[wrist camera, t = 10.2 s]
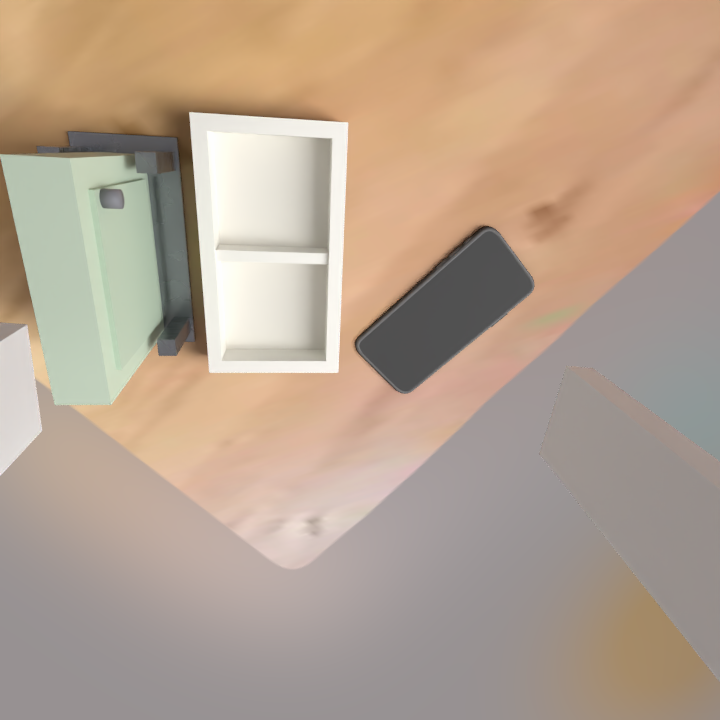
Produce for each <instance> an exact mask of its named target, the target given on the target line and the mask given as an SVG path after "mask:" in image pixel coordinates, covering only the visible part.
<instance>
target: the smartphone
mask: <svg viewBox="0 0 720 720" xmlns="http://www.w3.org/2000/svg"><path fill="white" fill-rule="evenodd" d="M533 289H534V280H533V278H532V276H531V275H530V273H529V272H528V271H527V269H526V268H525V267H524V265H523V264H522V263H521V261H520V260H519V259H518V257H517V256H516V255H515V253H514V252H513V251H512V249H511V248H510V247H509V245H508V244H507V243H506V241H505V240H504V238H503V237H502V236H501V234H500V233H499V232H498V231H497V230H496V229H494V228H492V227H483V228H481V229H479V230H478V231H477V232H476V233H475V234H474V235H473V236H471V237H470V238H468V239H467V240H466V241H465V242H464V243H463V244H462V245H461V246H460V247H458V248H457V249H455V250H454V251H453V252H452V253H451V254H450V255H449V257H448V258H446V259H444V260H443V261H442V262H441V263H440V264H439V265H437V266H436V267H435V269H434V270H433V271H432V272H431V273H430V274H428V275H427V276H426V277H425V278H424V279H423V280H422V281H421V282H419V283H418V284H417V285H416V286H415V287H414V288H413V289H412V290H410V291H409V292H408V293H407V294H406V295H405V296H404V297H403V298H401V299H400V300H399V301H398V302H397V303H396V304H395V305H394V306H393V307H391V308H390V309H389V310H388V311H387V312H386V313H385V314H384V315H382V316H381V317H380V318H379V319H378V320H377V321H376V322H375V323H373V324H372V325H371V326H370V327H369V328H368V329H367V330H366V331H364V332H363V333H362V334H361V335H360V336H359V337H358V338H357V340H356V343H355V346H356V349H357V351H358V352H359V354H360V355H361V356H362V357H363V358H364V359H365V360H366V361H367V362H368V363H369V364H370V365H371V366H372V367H373V368H374V369H375V370H376V371H377V372H378V373H379V374H380V375H381V376H382V377H383V378H384V379H385V380H386V381H387V382H388V383H389V384H390V385H391V386H392V387H393V388H394V389H395V390H397V391H398V392H400V393H404V394H405V393H410V392H411V391H413V390H414V389H415V388H417V387H418V386H419V385H420V384H422V383H423V382H424V381H425V380H426V379H428V378H429V377H430V376H431V375H432V374H434V373H435V372H436V371H437V370H439V369H440V368H441V367H442V366H443V365H445V364H446V363H447V362H448V361H450V360H451V359H452V358H453V357H454V356H456V355H457V354H458V353H459V352H460V351H462V350H463V349H464V348H465V347H467V346H468V345H469V344H470V343H471V342H473V341H474V340H475V339H476V338H478V337H479V336H480V335H481V334H482V333H484V332H485V331H486V330H487V329H488V328H490V327H492V326H493V325H494V324H496V323H497V322H498V321H499V320H501V319H502V318H503V317H504V316H505V315H507V313H508V312H509V311H510V310H512V309H513V308H514V307H515V306H516V305H518V304H519V303H520V302H521V301H522V300H524V299H525V298H526V297H527V296H529V295H530V294H531V293H532V291H533Z"/></svg>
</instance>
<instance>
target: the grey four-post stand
mask: <svg viewBox="0 0 720 720" xmlns="http://www.w3.org/2000/svg"><path fill="white" fill-rule="evenodd" d="M68 137H69V143H70V146H37V151H38V153H71V152H111V153H129V154H135V162H136V171H137V173H146V174H147V176H148V185H149V195H150V204H151V213H152V222H153V231H154V240H155V249H156V258H157V267H158V276H159V285H160V294H161V303H162V312H163V321H164V331H163V332H162V333H161V335H160V336H159V337H158V339H157V345H158V353H159V356H177V354H178V352H179V351H180V349H181V347H182V346H183V344H184V342H195V331H194V320H193V308H192V297H191V285H190V274H189V262H188V251H187V239H186V228H185V216H184V205H183V193H182V182H181V170H180V159H179V148H178V138H173V137H156V136H139V135H122V134H105V133H88V132H71V131H68Z"/></svg>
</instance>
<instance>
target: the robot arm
mask: <svg viewBox="0 0 720 720" xmlns="http://www.w3.org/2000/svg"><path fill="white" fill-rule="evenodd" d="M41 431H42V426H41V419H40V413H39V405H38V398H37V391H36V383H35V376H34V369H33V362H32V355H31V348H30V341H29V334H28V326H27V325H26V324H13V323H0V475H1V474H2V473H3V472H4V471H5V470H6V469H7V468H8V467H9V466H10V464H12V463H13V461H14V460H15V459H16V458H17V457H18V456H19V455H20V454H21V453H22V452H23V451H24V450H25V449H26V448H27V446H28V445H29V444H30V443H31V442H32V441H33V440H34V439H35V438H36V437H37V436H38V434H39V433H40V432H41ZM539 455H540V456H541V457H542V458H543V460H544V461H545V462H546V463H547V465H548V466H549V467H550V468H551V470H552V471H553V472H554V474H555V475H556V476H557V477H558V479H559V480H560V481H561V482H562V484H563V485H564V486H565V487H566V489H567V490H568V491H569V492H570V494H571V495H572V496H573V498H574V499H575V500H576V501H577V502H578V504H579V505H580V506H581V508H582V509H583V510H584V511H585V513H586V514H587V515H588V516H589V518H590V519H591V520H592V521H593V523H594V524H595V525H596V527H597V528H598V529H599V530H600V532H601V533H602V534H603V535H604V537H605V538H606V539H607V540H608V542H609V543H610V544H611V545H612V547H613V548H614V549H615V550H616V552H617V553H618V554H619V556H621V558H622V559H623V561H624V562H625V563H626V564H627V566H628V567H629V568H630V569H631V571H632V572H633V573H634V574H635V576H636V577H637V578H638V579H639V581H640V582H641V583H642V584H643V586H644V587H645V588H646V590H647V591H648V592H649V593H650V595H651V596H652V597H653V598H654V600H655V601H656V602H657V603H658V605H659V606H660V607H661V608H662V610H663V611H664V612H665V614H666V615H667V616H668V617H669V619H670V620H671V621H672V622H673V624H674V625H675V626H676V627H677V629H678V630H679V631H680V632H681V634H682V635H683V636H684V637H685V639H686V640H687V641H688V643H690V645H691V646H692V648H693V649H694V650H695V651H696V653H697V654H698V655H699V656H700V658H701V659H702V660H703V661H704V663H705V664H706V665H707V666H708V668H709V669H710V670H711V672H712V673H713V674H714V675H715V677H716V678H717V679H718V680H719V682H720V461H718V460H717V459H716V458H714V457H713V456H712V455H710V454H709V453H707V452H706V451H704V450H703V449H702V448H700V447H699V446H698V445H697V444H695V443H694V442H692V441H691V440H690V439H688V438H687V437H685V436H684V435H683V434H682V433H680V432H679V431H678V430H676V429H675V428H673V427H672V426H671V425H669V424H668V423H667V422H665V421H664V420H663V419H661V418H660V417H658V416H657V415H656V414H654V413H653V412H652V411H650V410H649V409H648V408H646V407H645V406H643V405H642V404H641V403H639V402H638V401H637V400H635V399H634V398H633V397H631V396H630V395H629V394H627V393H626V392H624V391H623V390H622V389H620V388H619V387H618V386H616V385H615V384H613V383H612V382H611V381H609V380H608V379H607V378H605V377H604V376H603V375H601V374H600V373H599V372H597V371H596V370H595V369H593V368H585V367H572V366H571V367H570V366H566V369H565V372H564V375H563V378H562V382H561V385H560V388H559V391H558V394H557V398H556V401H555V404H554V407H553V410H552V413H551V417H550V420H549V423H548V427H547V430H546V433H545V436H544V439H543V442H542V445H541V449H540V452H539Z"/></svg>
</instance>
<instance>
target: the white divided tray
mask: <svg viewBox="0 0 720 720" xmlns="http://www.w3.org/2000/svg"><path fill="white" fill-rule="evenodd" d="M189 115H190V128H191V141H192V154H193V167H194V180H195V193H196V206H197V219H198V232H199V245H200V258H201V271H202V284H203V297H204V310H205V323H206V336H207V349H208V362H209V373H338V368H339V342H340V317H341V292H342V267H343V241H344V216H345V191H346V166H347V141H348V123H347V122H332V121H316V120H301V119H286V118H271V117H255V116H240V115H225V114H210V113H194V112H189Z"/></svg>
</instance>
